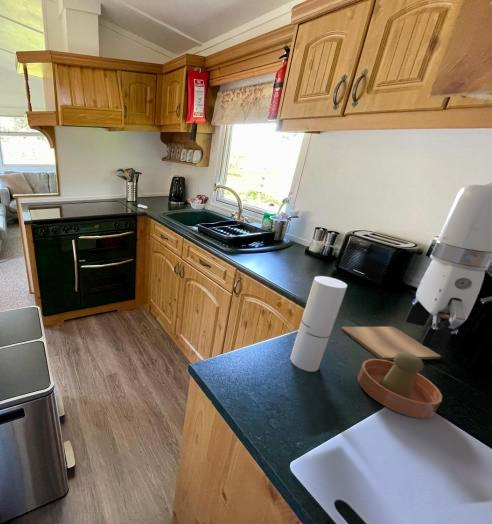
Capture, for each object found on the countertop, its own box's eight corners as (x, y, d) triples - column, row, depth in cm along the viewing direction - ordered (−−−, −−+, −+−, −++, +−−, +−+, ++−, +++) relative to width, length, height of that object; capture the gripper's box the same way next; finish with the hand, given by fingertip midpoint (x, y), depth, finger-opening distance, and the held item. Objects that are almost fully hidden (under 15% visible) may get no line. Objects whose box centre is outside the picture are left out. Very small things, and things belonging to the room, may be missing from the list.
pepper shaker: (373, 386, 73) (389, 351, 69) (387, 380, 76) (403, 346, 72) (401, 404, 68) (419, 367, 64) (414, 398, 71) (433, 361, 67)
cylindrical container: (303, 352, 85) (328, 275, 77) (324, 369, 79) (354, 286, 70) (284, 356, 83) (307, 277, 74) (304, 373, 77) (332, 289, 68)
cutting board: (391, 328, 102) (392, 326, 101) (440, 358, 87) (441, 356, 87) (340, 329, 99) (341, 326, 99) (382, 360, 84) (383, 357, 84)
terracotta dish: (391, 371, 80) (397, 358, 78) (451, 417, 66) (460, 402, 65) (343, 373, 78) (348, 359, 76) (394, 421, 64) (402, 405, 63)
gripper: (520, 275, 44) (468, 366, 50) (465, 248, 58) (430, 321, 64) (454, 264, 47) (412, 351, 53) (418, 241, 61) (388, 311, 67)
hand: (422, 334), depth 59 cm, fingers open, 9 cm apart
